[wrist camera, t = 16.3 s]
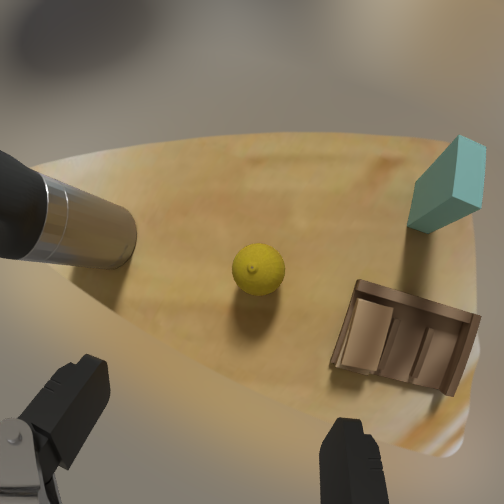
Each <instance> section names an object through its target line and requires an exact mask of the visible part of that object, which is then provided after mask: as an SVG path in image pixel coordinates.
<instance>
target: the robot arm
mask: <svg viewBox="0 0 504 504" xmlns="http://www.w3.org/2000/svg"><path fill="white" fill-rule="evenodd" d="M136 235H137V232H136V225H135V221H134V219H133V217H132V215H131V214H130V213H129V212H128V210H126V209H125V208H123V207H121V206H118V205H116V204H114V203H111V202H109V201H107V200H104V199H102V198H99V197H97V196H95V195H92V194H90V193H87V192H85V191H82V190H80V189H78V188H75V187H73V186H70V185H68V184H66V183H63V182H61V181H58V180H56V179H53V178H51V177H48V176H46V175H44V174H41V173H39V172H36V171H34V170H32V169H30V168H28V167H26V166H25V165H23V164H22V163H20V162H19V161H18V160H16V159H15V158H13V157H12V156H10V155H8V154H6V153H5V152H2V151H1V150H0V257H1V258H6V259H14V260H24V261H32V262H42V263H51V264H60V265H70V266H79V267H89V268H99V269H114V268H117V267H119V266H121V265H122V264H124V263H125V262H126V261H127V260H128V258H129V257H130V255H131V254H132V252H133V249H134V247H135V243H136ZM109 397H110V383H109V375H108V366H107V362H106V361H104V360H101V359H99V358H96V357H94V356H91V355H89V354H85V355H84V356H83V357H82V358H81V359H80V361H79V362H78V363H77V364H73V363H71V362H70V363H68V364H67V365H65V366H63V367H61V368H59V369H58V370H57V371H56V373H55V374H54V375H53V376H52V377H51V379H50V380H49V381H48V382H47V383H46V384H45V386H44V388H42V389H41V390H40V392H39V393H38V394H37V395H36V396H35V398H34V399H33V400H32V401H31V403H30V404H29V405H28V406H27V408H26V409H25V410H24V411H23V413H22V414H21V415H20V416H19V417H18V418H7V419H4V420H2V421H1V422H0V504H62V502H61V498H60V494H59V490H58V486H57V482H56V478H55V473H54V472H55V470H56V469H57V467H58V465H59V466H60V467H62V468H64V469H66V470H69V468H70V466H71V464H72V463H73V461H74V459H75V458H76V456H77V454H78V453H79V451H80V449H81V447H82V446H83V444H84V442H85V441H86V439H87V437H88V435H89V434H90V432H91V430H92V428H93V427H94V425H95V424H96V422H97V420H98V418H99V417H100V415H101V414H102V412H103V410H104V409H105V407H106V405H107V403H108V401H109ZM319 465H320V495H321V504H389V499H388V494H387V488H386V482H385V477H384V472H383V471H382V469H383V466H382V462H381V456H380V452H379V447H378V445H377V443H376V442H375V440H374V439H373V437H372V436H371V435H370V434H364V432H363V426H362V422H361V420H360V419H351V418H341V417H339V418H337V420H336V421H335V423H334V424H333V426H332V428H331V430H330V431H329V433H328V434H327V436H326V437H325V439H324V440H323V442H322V445H321V448H320V453H319Z"/></svg>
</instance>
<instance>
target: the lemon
mask: <svg viewBox="0 0 504 504" xmlns="http://www.w3.org/2000/svg"><path fill="white" fill-rule="evenodd" d="M232 274H233V277H234V280H235V282H236V284H237V285H238V286H239V287H240V288H241V289H242V290H243V291H245V292H246V293H248V294H251V295H255V296H262V295H267V294H269V293H271V292H273V291H275V290H276V289H277V288H278V287H279V286H280V284H281V283H282V281H283V278H284V276H285V265H284V261H283V259H282V256H281V255H280V254H279V253H278V251H277V250H275V249H274V248H273V247H271V246H269V245H266V244H260V243H257V244H251V245H248V246H246V247H244V248H243V249H242V250H240V251H239V253H238V254H237V255H236V257H235V259H234V261H233V265H232Z"/></svg>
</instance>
